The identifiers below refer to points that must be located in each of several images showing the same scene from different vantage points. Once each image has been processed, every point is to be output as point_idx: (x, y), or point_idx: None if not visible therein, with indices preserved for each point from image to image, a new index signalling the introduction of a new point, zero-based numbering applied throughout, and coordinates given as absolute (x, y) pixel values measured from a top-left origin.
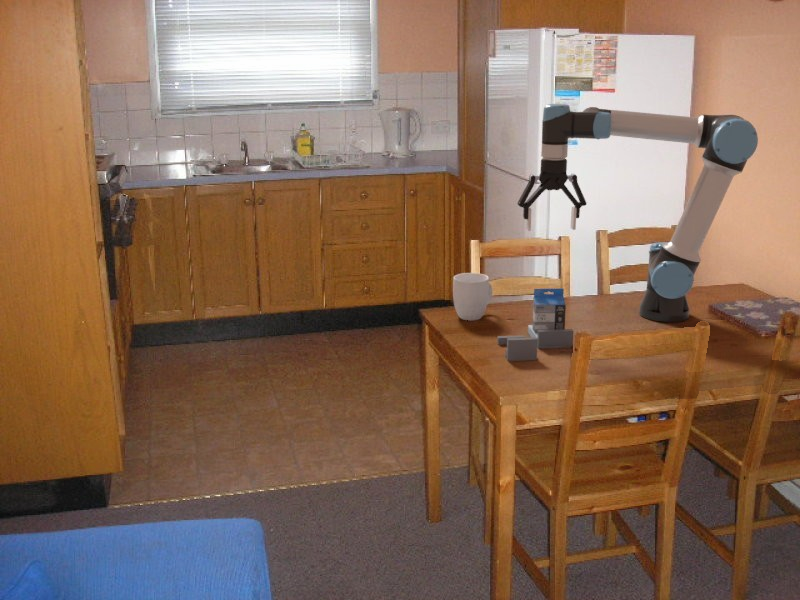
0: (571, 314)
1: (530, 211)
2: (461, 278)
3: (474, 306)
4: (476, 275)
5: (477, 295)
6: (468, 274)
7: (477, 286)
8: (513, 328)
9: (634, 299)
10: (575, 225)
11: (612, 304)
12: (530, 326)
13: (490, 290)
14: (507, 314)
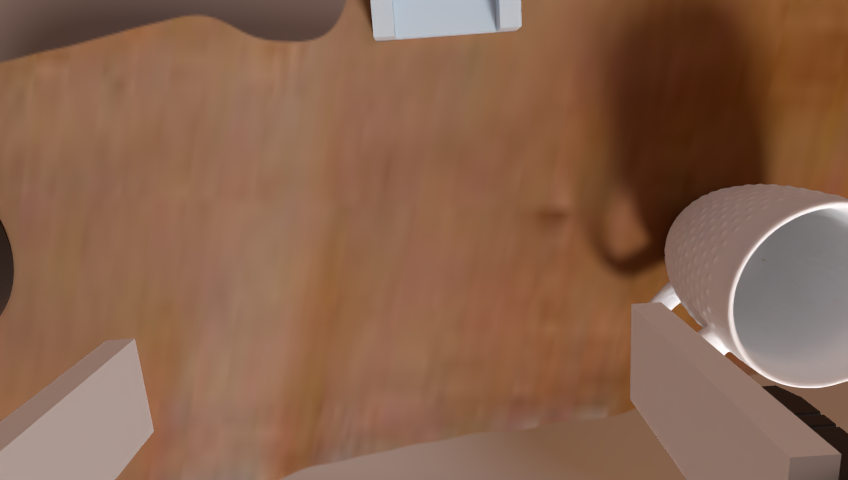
0: (292, 272)
1: (781, 429)
2: (842, 354)
3: (747, 185)
4: (770, 368)
5: (767, 191)
6: (813, 378)
7: (798, 199)
8: (562, 96)
9: None
10: (79, 362)
11: None
12: (514, 4)
13: None
14: (552, 278)
